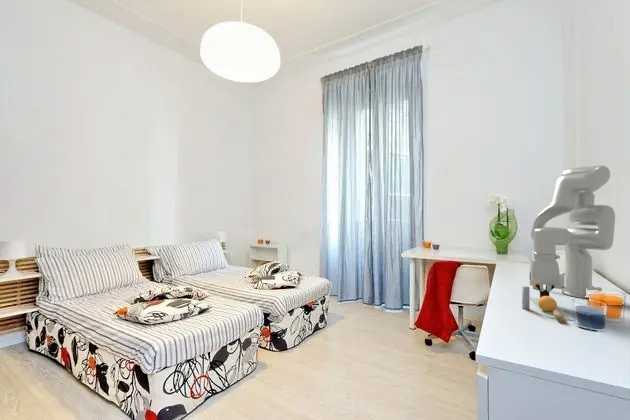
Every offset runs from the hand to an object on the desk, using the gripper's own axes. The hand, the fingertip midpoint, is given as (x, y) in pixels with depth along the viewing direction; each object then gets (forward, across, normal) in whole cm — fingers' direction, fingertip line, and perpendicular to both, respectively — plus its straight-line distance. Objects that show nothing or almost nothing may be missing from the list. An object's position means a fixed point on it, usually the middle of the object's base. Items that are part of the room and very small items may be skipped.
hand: (544, 300), depth 131 cm
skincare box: (+2, -14, -38) cm, 40 cm away
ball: (-2, +2, +11) cm, 12 cm away
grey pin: (+2, +9, +11) cm, 14 cm away
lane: (+2, 0, +6) cm, 6 cm away
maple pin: (0, 0, +16) cm, 16 cm away
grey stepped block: (+2, -6, -27) cm, 28 cm away
